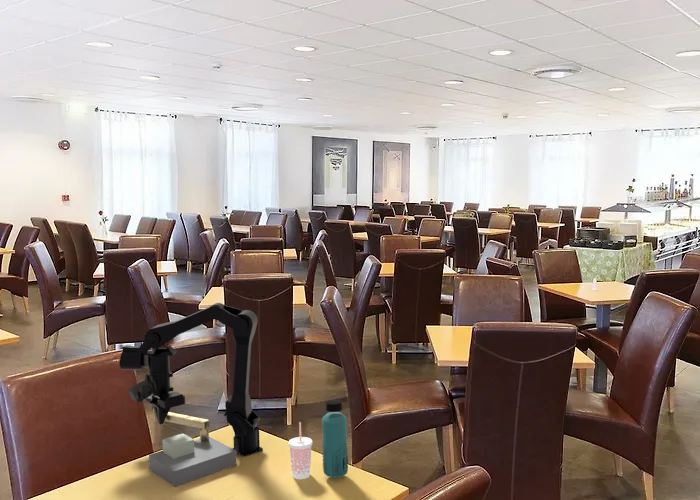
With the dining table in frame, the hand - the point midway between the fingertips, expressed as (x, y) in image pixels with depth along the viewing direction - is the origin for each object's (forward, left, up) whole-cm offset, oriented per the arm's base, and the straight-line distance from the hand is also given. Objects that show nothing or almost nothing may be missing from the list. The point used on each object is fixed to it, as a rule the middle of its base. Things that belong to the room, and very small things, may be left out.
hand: (161, 423), depth 180 cm
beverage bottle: (-23, +48, -8) cm, 54 cm away
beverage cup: (-18, +41, -8) cm, 45 cm away
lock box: (0, +17, -8) cm, 18 cm away
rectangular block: (+2, +14, -4) cm, 15 cm away
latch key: (-4, +5, -3) cm, 7 cm away
